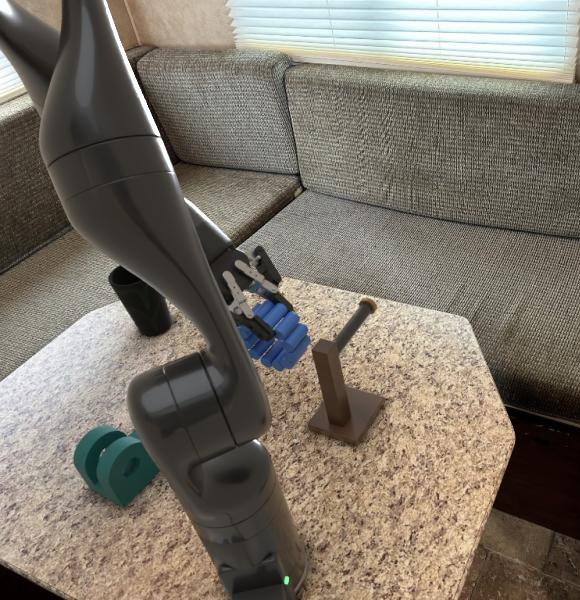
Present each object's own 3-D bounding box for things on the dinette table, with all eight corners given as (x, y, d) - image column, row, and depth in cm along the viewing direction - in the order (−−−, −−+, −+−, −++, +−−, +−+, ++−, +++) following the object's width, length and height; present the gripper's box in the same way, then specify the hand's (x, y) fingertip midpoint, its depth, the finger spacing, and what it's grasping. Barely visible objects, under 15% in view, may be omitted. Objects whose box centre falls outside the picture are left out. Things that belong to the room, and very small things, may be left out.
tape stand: (357, 446, 84) (341, 366, 74) (308, 429, 87) (286, 351, 77) (401, 375, 93) (392, 296, 84) (356, 362, 96) (342, 285, 87)
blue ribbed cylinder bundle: (300, 378, 84) (287, 327, 78) (246, 361, 88) (229, 312, 82) (315, 359, 87) (303, 308, 81) (262, 343, 91) (246, 294, 85)
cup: (148, 311, 112) (124, 257, 104) (185, 313, 110) (163, 259, 102) (125, 339, 106) (98, 284, 98) (164, 342, 104) (140, 287, 97)
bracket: (124, 507, 79) (100, 472, 74) (89, 488, 82) (64, 452, 77) (217, 410, 91) (201, 374, 86) (184, 396, 94) (167, 360, 89)
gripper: (157, 253, 72) (263, 352, 75) (230, 196, 82) (322, 285, 85) (139, 280, 77) (240, 371, 80) (210, 223, 87) (297, 306, 90)
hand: (281, 326), depth 82 cm, fingers closed on blue ribbed cylinder bundle, 4 cm apart
